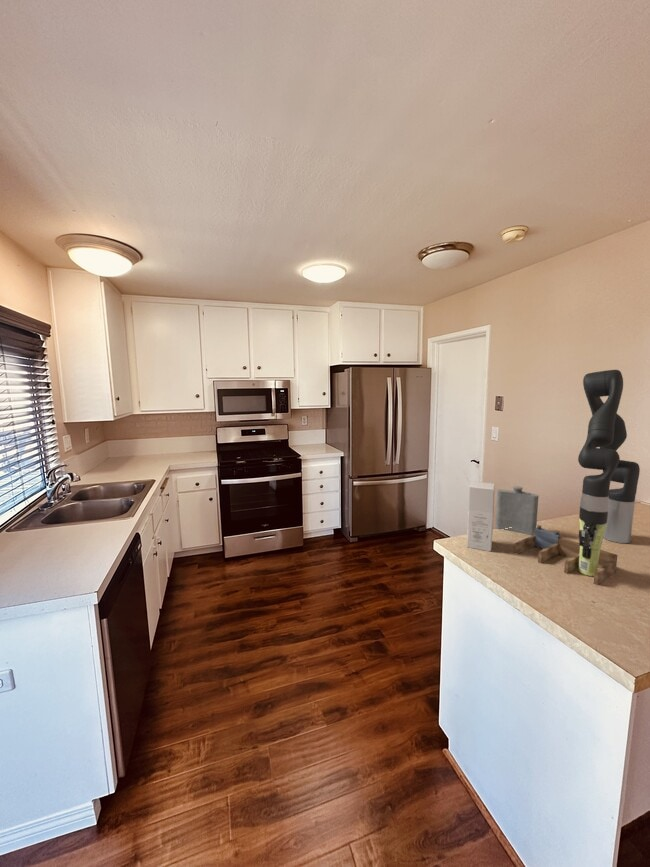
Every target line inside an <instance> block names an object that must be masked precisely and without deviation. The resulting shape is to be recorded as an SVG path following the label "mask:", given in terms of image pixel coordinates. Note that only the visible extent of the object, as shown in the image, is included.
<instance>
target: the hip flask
mask: <svg viewBox="0 0 650 867" xmlns="http://www.w3.org/2000/svg"><path fill="white" fill-rule="evenodd" d="M512 488H513V490H509V489H508V490H507V489H497V490H496V504H495V526H494V527H495V529H496V530H501V529H504V530H503V531H509V532H514V533H520V534H524V535H528V536H532V535H533V530H535V528H537V523H538V509H539V508H538V507H539V495H538V494H535V493H531V492H528V491H523V487H522V486H519V485H513V487H512ZM509 527H512V528H509ZM505 528H508V529H505Z"/></svg>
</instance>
